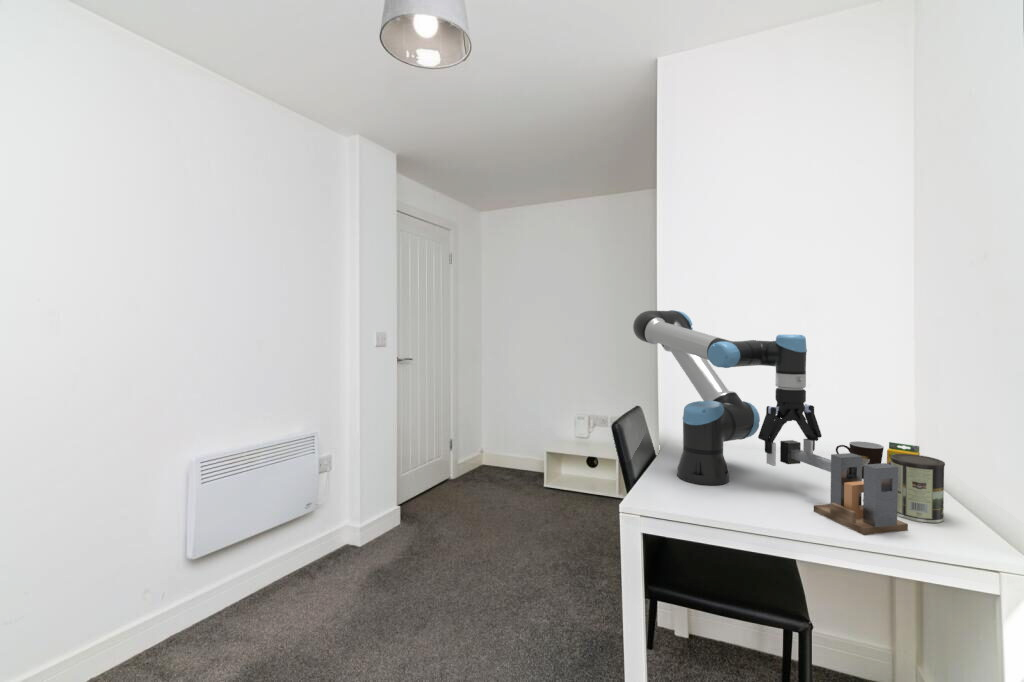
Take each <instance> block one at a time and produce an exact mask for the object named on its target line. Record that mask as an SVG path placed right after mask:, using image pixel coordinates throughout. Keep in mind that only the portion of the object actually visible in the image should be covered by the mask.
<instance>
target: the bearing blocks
mask: <svg viewBox="0 0 1024 682" xmlns="http://www.w3.org/2000/svg"><path fill="white" fill-rule="evenodd" d="M830 460H831V472H830V503H836V504H838V505H841V506H843V507H844V483H847V482H857V481H864V493H859V506H860V505H863V522H864V523H867V524H869V525H871V526H873V527H883V526H893V525H897V520H898V515H897V500H898V467H897V466H893V465H890V464H887V462H883V463H882V462H881V464H867V465H864V479H862V456H859V455H856V454H853V453H850V452H847V453H839V454H837V453H835V454H833V453H832V454H830ZM847 467H849V475H846V473H847ZM862 494H863V499H862ZM862 500H863V504H862ZM830 503H829V504H830Z"/></svg>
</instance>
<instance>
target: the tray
mask: <svg viewBox="0 0 1024 682" xmlns="http://www.w3.org/2000/svg"><path fill="white" fill-rule="evenodd" d="M813 512H814V513H816V514H818V515H821V516H823V517H825V518H827V519H829V520H831V521H834V522H835V523H838V524H840V525H842V526H844V527H846V528H848V529H850V530H853V531H854V532H857V533H859V534H861V535H863V536H867V535H875V534H877V535H878V534H886V533H895V532H907V531H909V526H908V525H909V524H908V523H907V522H905V521H901V520H899V519H897V525H893V526H883V527H873V526H871V525H869V524H867V523H864V522H863V517H862V518H856V512H855V511H852V510H850V509H848V508H845V507H843V506H841V505H838V504H836V503H827V504H815V505H813Z"/></svg>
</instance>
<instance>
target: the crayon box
mask: <svg viewBox="0 0 1024 682" xmlns="http://www.w3.org/2000/svg"><path fill="white" fill-rule="evenodd" d="M903 446H904V447H907V448H903ZM893 454H913V455H921V453H920V446H919V445H912V444H906V443H898V442H891V441H889V442H888V448H887V451H886V463H887V464H890V465H891V455H893Z"/></svg>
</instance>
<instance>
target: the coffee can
mask: <svg viewBox="0 0 1024 682" xmlns="http://www.w3.org/2000/svg"><path fill="white" fill-rule="evenodd" d="M891 465H893V466H897V467H898V500H897V517H901V518H903V519H906V520H910V521H915V522H918V523H919V522H920V523H929V524H939V523H942V522H944V521H945V519H944V510H945V508H944V506H945V505H944V503H945V502H944V501H945V499H944V496H945V495H944V494H945V491H944V488H945V466H946V463H945V461H944V460H941V459H938V458H935V457H930V456H928V455H927V456H926V455H921V454H920V455H913V454H893V455H891Z"/></svg>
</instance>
